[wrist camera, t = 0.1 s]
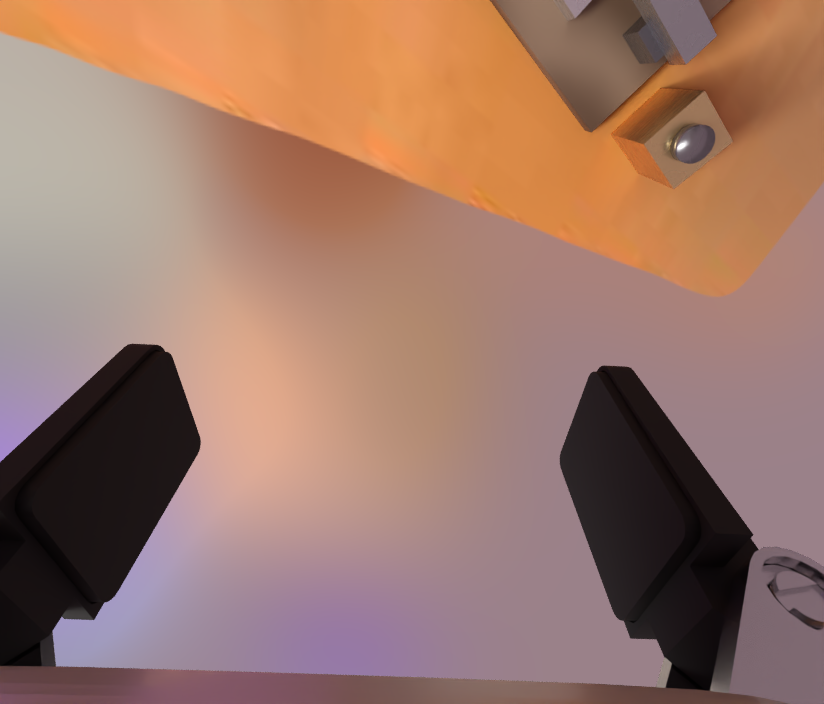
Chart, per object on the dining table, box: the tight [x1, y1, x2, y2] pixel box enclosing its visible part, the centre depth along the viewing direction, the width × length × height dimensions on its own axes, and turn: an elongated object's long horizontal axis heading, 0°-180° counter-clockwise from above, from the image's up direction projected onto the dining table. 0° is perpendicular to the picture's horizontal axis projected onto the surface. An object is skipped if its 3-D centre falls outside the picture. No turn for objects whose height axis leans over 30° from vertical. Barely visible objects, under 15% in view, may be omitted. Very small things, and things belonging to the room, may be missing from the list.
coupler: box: [611, 88, 733, 189], centre depth 31 cm, size 4×4×7 cm
